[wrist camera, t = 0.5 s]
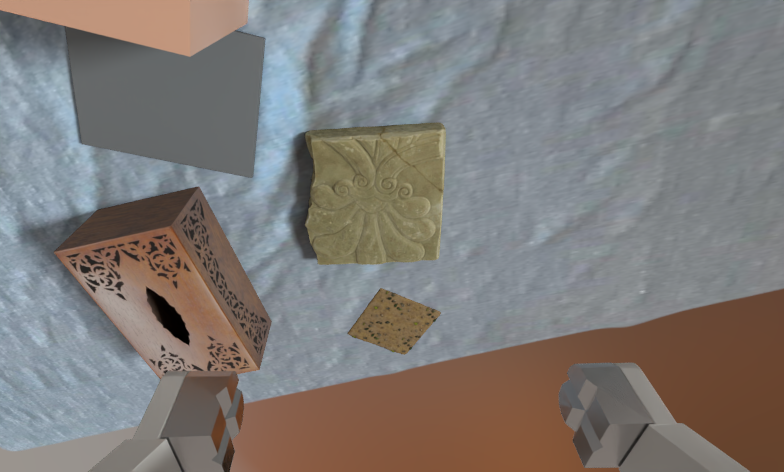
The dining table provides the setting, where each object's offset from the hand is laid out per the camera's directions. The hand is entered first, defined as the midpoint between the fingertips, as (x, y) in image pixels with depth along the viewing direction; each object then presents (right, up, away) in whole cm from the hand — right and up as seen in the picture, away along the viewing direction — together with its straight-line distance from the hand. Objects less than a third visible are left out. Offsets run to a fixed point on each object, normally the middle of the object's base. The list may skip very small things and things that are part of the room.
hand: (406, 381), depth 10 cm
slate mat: (-26, +20, +38) cm, 50 cm away
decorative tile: (-3, +9, +48) cm, 49 cm away
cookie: (0, -11, +62) cm, 63 cm away
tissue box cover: (-30, -2, +53) cm, 61 cm away
